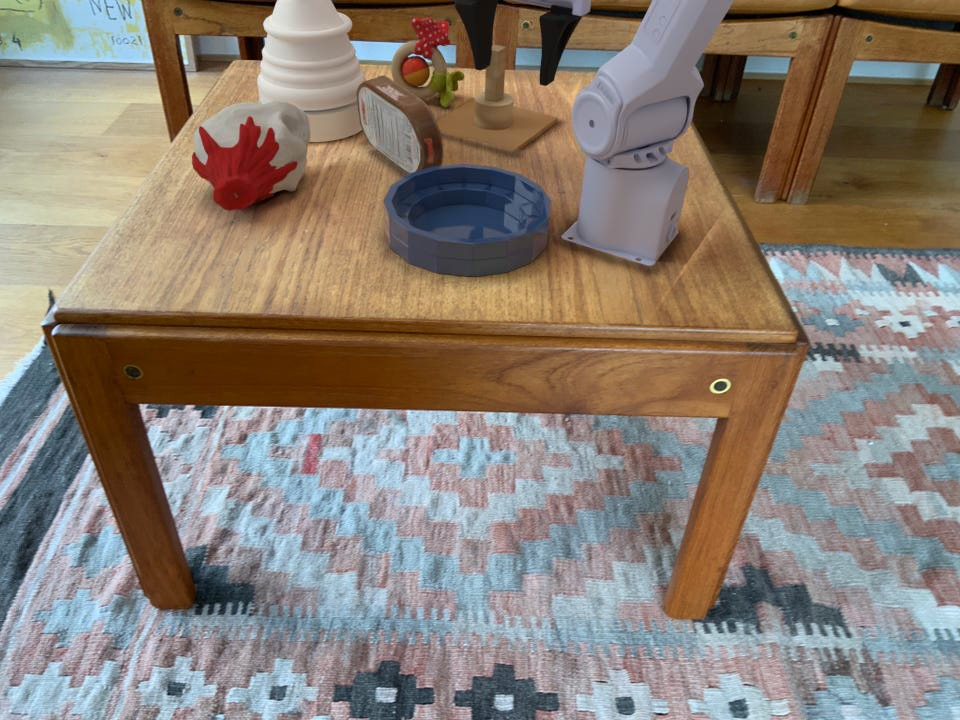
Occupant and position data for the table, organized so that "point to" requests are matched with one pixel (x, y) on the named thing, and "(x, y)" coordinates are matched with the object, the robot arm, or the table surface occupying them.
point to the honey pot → (312, 66)
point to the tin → (399, 124)
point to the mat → (510, 138)
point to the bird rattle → (417, 69)
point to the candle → (251, 151)
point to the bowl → (467, 219)
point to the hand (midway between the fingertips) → (514, 75)
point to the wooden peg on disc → (494, 95)
